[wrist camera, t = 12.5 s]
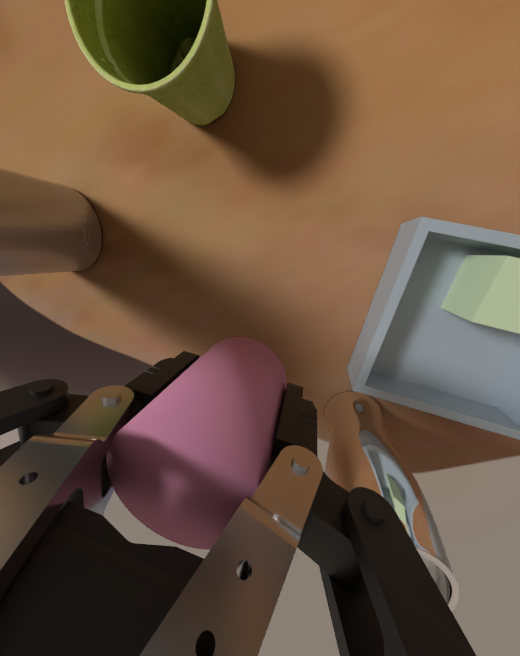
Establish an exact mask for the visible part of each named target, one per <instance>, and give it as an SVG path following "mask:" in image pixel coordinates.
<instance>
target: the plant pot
mask: <svg viewBox="0 0 520 656" xmlns="http://www.w3.org/2000/svg"><path fill="white" fill-rule="evenodd" d="M65 5H66V10H67V14H68V18H69V22H70V25H71V27H72V30H73V33H74V35H75V38H76V40H77V42H78V44H79V46H80V48H81V50H82V51H83V53H84V55H85V56H86V58H87V59H88V61H89V62H90V63H91V65H92V66H93V67H94V68H95V69H96V71H97V72H98V73H99V74H100V75H102V76H103V77H104V78H105V79H106V80H108V81H109V82H110V83H112V84H113V85H115V86H117V87H119V88H121V89H123V90H126V91H129V92H133V93H140V94H145V95H149V96H150V97H152V98H153V99H155V100H156V101H158V102H159V103H161V104H162V105H164V106H166V107H167V108H169V109H170V110H172V111H173V112H175V113H176V114H178V115H179V116H181V117H182V118H184V119H185V120H186V121H188V122H190V123H192V124H195V125H207V124H209V123H210V122H212V121H213V120H215V119H216V118H218V117H219V116H221V115H223V113H224V112H225V111H226V109H227V108H228V106H229V104H230V102H231V99H232V96H233V92H234V85H235V73H234V66H233V62H232V58H231V54H230V50H229V46H228V43H227V39H226V35H225V31H224V27H223V23H222V19H221V14H220V10H219V6H218V2H217V0H65ZM179 64H180V65H179ZM178 65H179V67H178Z"/></svg>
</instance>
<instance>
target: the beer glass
mask: <svg viewBox="0 0 520 656" xmlns="http://www.w3.org/2000/svg"><path fill="white" fill-rule="evenodd" d="M325 420H326V423H327V426H328V429H329V432H330V443H329V449H328V454H327V460H326V465H325V472H324V473H325V474H326V475H327V476H328V477H329V478H330V479H331V480H332V481H333V482H335V483H336V484H338V485H339V486H341V487H342V488H344V489H345V490H347V491H348V492H350V491H351V490H352V489H354V488H356V487H365V488H368V489H371V490H373V491H375V492H377V493H378V494H380V495H381V496H382V497H383V498H385V499H386V500H387V501H388V502H389V503H390V505H391V506H392V507H393V508H394V510H395V512H396V513H397V515H398V517H399V518H400V520H401V522H402V524H403V526H404V527H405V529H406V531H407V533H408V535H409V536H410V538H411V540H412V542H413V544H414V545H415V547H416V549H417V551H418V553H419V554H420V556H421V558H422V560H423V561H424V563H425V565H426V567H427V569H428V570H429V572H430V574H431V576H432V578H433V579H434V581H435V583H436V585H437V587H438V588H439V590H440V592H441V594H442V596H443V597H444V599H445V601H446V603H447V604H448V606H449V608H450V610H451V612H452V611H453V609H454V608H455V607H456V605H457V603H458V600H459V586H458V583H457V580H456V578H455V576H454V574H453V571H452V569H451V566H450V563H449V560H448V557H447V554H446V551H445V548H444V546H443V543H442V540H441V537H440V534H439V532H438V529H437V526H436V523H435V521H434V519H433V516H432V514H431V511H430V509H429V506H428V504H427V502H426V499H425V497H424V495H423V493H422V491H421V489H420V487H419V485H418V483H417V481H416V480H415V478H414V476H413V474H412V473H411V471H410V469H409V468H408V466H407V465H406V463H405V462H404V460H403V459H402V457H401V456H400V454H399V453H398V451H397V450H396V448H395V447H394V445H393V444H392V442H391V441H390V439H389V438H388V436H387V434H386V432H385V429H384V425H383V415H382V411H381V408H380V406H379V405H378V403H377V402H376V401H375V400H374V399H373V398H371V397H370V396H368V395H366V394H363V393H360V392H355V391H348V392H343V393H340V394H338V395H336V396H334V397H333V398H332V399H331V400H330V401H329V402H328V403H327V405H326V408H325Z"/></svg>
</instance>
